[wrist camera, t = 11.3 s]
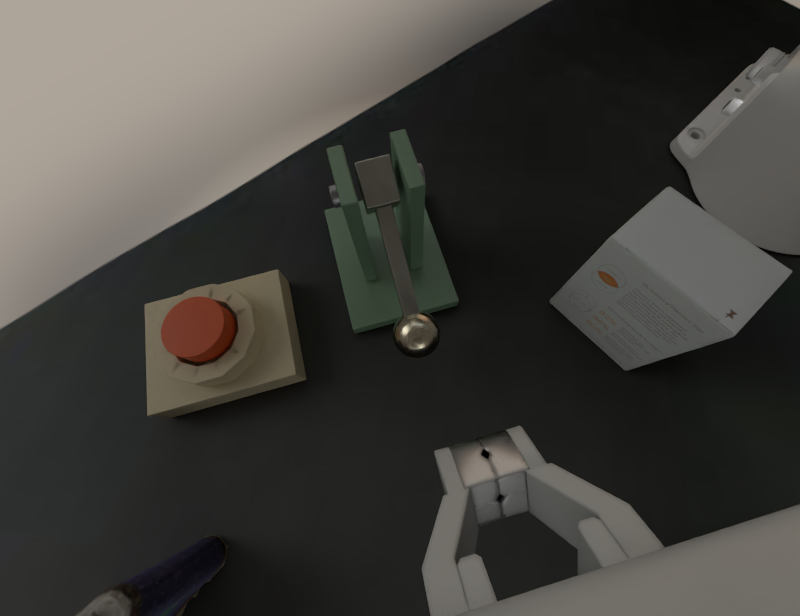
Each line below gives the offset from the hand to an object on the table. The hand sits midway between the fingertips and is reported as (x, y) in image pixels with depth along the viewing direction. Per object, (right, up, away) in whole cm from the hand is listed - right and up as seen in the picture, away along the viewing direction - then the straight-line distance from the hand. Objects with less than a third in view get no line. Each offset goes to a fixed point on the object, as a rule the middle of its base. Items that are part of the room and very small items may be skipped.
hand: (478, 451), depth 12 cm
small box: (+15, +4, +18) cm, 23 cm away
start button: (-17, +3, +14) cm, 22 cm away
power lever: (-3, +8, +13) cm, 16 cm away
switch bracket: (-4, +9, +20) cm, 23 cm away
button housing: (-17, +2, +18) cm, 25 cm away
